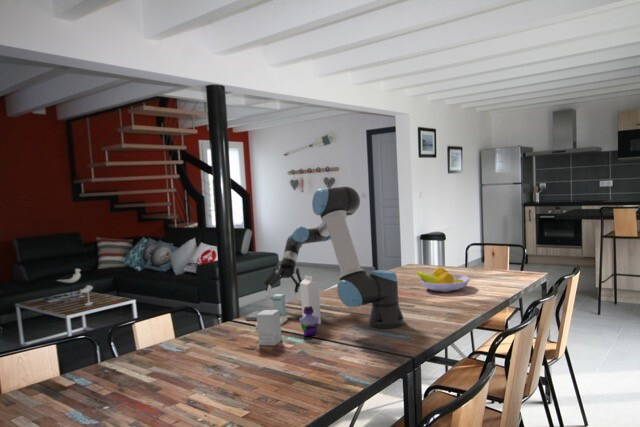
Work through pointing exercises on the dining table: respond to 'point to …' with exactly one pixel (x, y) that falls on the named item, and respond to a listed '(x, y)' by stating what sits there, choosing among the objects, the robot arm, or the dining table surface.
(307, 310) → the potion bottle
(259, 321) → the supplement box
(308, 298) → the milk
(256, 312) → the coaster
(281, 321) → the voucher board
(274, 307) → the light blue tall block
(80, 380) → the dining table surface
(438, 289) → the fruit bowl
